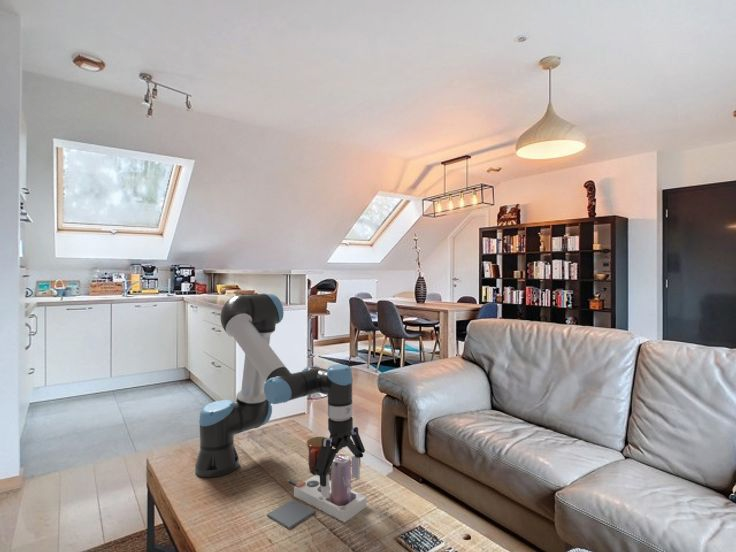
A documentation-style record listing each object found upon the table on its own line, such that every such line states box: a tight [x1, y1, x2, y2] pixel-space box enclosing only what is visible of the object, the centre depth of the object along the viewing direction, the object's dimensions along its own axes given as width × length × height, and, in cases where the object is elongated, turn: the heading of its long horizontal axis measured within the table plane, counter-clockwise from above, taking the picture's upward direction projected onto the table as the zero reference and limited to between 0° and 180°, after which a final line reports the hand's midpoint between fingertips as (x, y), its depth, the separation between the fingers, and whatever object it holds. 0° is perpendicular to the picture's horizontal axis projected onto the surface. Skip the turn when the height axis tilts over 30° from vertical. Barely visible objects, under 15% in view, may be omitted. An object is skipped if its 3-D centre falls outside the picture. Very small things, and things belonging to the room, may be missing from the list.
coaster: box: [266, 499, 316, 530], centre depth 121 cm, size 10×10×1 cm
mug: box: [305, 435, 329, 473], centre depth 147 cm, size 12×9×10 cm
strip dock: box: [288, 474, 368, 523], centre depth 130 cm, size 30×11×4 cm, turn 51°
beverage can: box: [330, 453, 352, 506], centre depth 124 cm, size 6×6×15 cm
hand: (341, 486), depth 124 cm, fingers open, 13 cm apart
